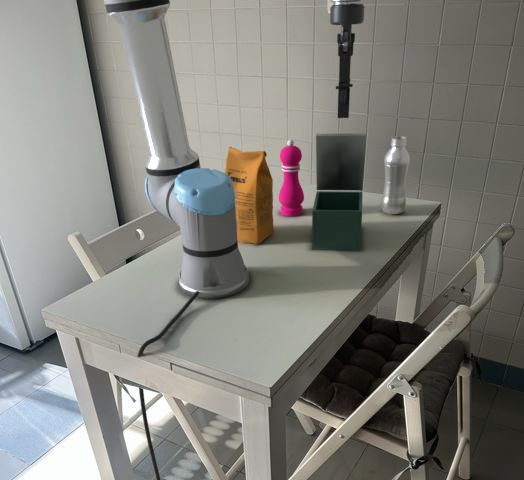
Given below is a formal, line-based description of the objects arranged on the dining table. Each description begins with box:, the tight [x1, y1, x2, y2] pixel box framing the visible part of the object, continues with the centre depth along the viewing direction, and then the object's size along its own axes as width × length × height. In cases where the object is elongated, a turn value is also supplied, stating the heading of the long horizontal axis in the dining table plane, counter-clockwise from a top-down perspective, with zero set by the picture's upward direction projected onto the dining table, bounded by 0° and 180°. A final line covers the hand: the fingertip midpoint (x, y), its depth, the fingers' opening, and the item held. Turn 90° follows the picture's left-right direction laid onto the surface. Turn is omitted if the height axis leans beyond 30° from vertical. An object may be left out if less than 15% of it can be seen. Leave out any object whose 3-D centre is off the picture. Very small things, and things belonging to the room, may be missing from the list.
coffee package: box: [224, 146, 275, 245], centre depth 133 cm, size 10×12×22 cm
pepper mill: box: [278, 139, 305, 217], centre depth 146 cm, size 7×7×20 cm
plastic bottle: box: [380, 135, 411, 215], centre depth 143 cm, size 6×7×20 cm
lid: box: [315, 132, 367, 191], centre depth 129 cm, size 15×12×1 cm
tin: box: [311, 190, 363, 251], centre depth 132 cm, size 15×12×10 cm
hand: (343, 117), depth 131 cm, fingers closed
